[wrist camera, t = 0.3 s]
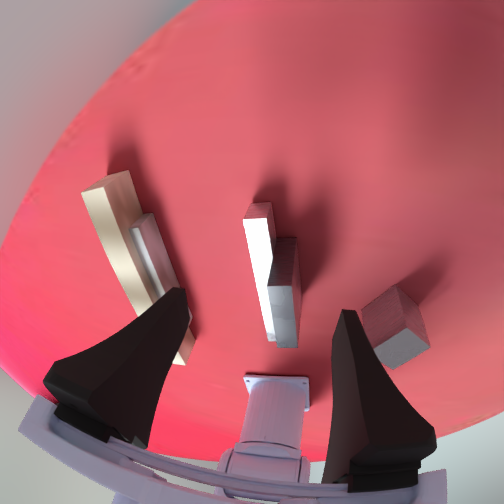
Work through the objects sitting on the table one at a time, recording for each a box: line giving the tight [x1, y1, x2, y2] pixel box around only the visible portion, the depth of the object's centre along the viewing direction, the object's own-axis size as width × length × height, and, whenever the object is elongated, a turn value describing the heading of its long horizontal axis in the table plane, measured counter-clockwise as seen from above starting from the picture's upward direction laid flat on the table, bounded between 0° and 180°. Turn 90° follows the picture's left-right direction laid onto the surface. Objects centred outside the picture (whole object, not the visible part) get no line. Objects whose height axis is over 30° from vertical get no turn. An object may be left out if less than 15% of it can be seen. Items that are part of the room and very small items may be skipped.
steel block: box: [361, 285, 430, 369], centre depth 22 cm, size 4×4×5 cm
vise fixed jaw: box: [81, 170, 195, 365], centre depth 25 cm, size 20×4×4 cm, turn 10°
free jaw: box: [243, 202, 302, 348], centre depth 21 cm, size 12×3×6 cm, turn 10°
